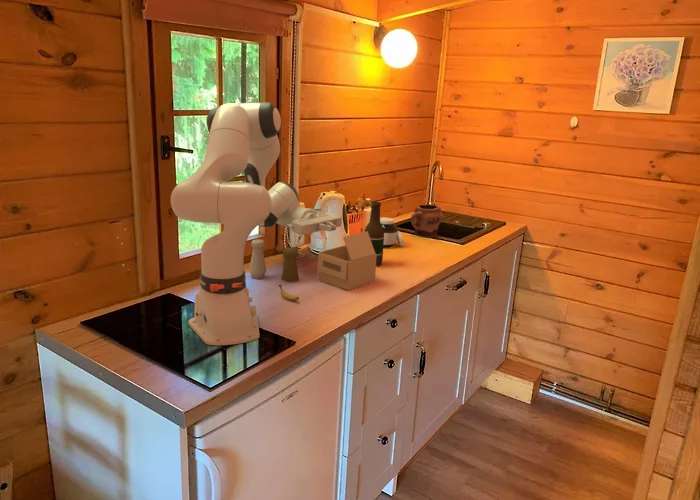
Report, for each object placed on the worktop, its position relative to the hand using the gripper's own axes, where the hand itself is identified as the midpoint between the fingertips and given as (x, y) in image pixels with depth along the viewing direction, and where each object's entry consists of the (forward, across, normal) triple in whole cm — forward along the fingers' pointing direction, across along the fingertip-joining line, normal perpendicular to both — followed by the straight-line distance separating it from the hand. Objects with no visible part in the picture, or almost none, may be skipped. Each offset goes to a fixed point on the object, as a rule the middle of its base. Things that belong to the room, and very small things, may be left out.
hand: (333, 228), depth 189 cm
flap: (+12, 0, +3) cm, 12 cm away
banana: (+7, -27, +17) cm, 32 cm away
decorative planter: (-10, +73, +18) cm, 76 cm away
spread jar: (-10, +47, +18) cm, 51 cm away
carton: (+7, 0, +17) cm, 19 cm away
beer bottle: (+1, +22, +18) cm, 28 cm away
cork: (-7, -14, +17) cm, 23 cm away
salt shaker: (-15, -20, +17) cm, 31 cm away
